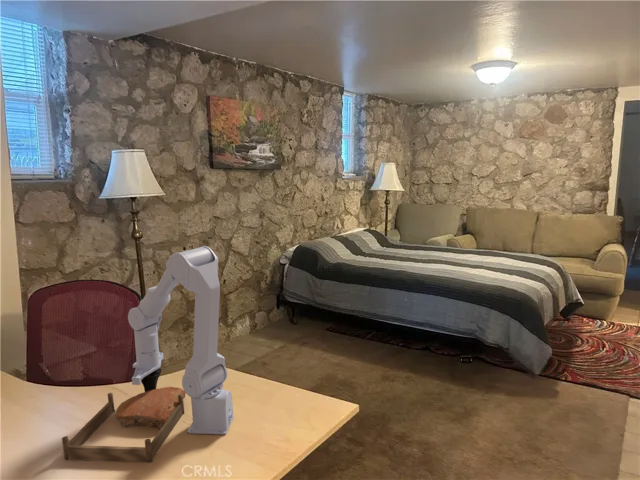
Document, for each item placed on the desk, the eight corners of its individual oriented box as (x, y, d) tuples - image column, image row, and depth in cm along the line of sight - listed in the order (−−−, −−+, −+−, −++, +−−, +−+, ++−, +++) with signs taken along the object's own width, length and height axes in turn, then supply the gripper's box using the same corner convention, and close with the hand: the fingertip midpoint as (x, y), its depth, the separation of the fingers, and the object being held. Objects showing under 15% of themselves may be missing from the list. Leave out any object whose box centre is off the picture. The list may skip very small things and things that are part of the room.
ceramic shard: (133, 379, 125) (187, 386, 125) (131, 402, 126) (185, 409, 126) (108, 403, 111) (170, 410, 111) (105, 428, 111) (167, 436, 111)
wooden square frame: (185, 411, 119) (183, 394, 118) (151, 462, 100) (149, 442, 99) (111, 410, 121) (109, 392, 120) (63, 459, 101) (60, 439, 100)
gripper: (145, 337, 129) (148, 381, 131) (118, 360, 114) (122, 410, 117) (169, 338, 128) (172, 382, 131) (146, 362, 114) (149, 411, 117)
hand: (150, 395), depth 124 cm, fingers closed, pressing on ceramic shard
